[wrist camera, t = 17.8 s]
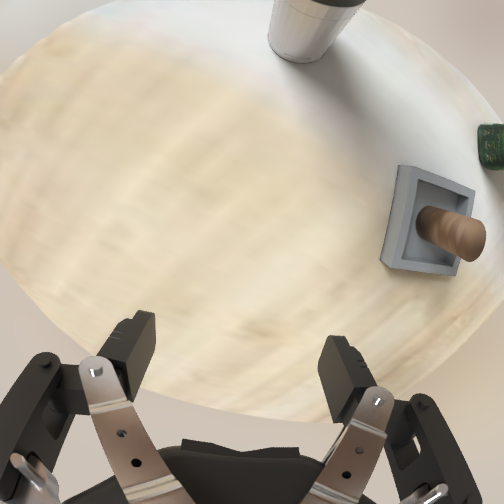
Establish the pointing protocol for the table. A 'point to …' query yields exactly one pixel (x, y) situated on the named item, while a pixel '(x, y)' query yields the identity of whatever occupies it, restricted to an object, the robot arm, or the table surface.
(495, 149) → the coffee jar
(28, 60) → the table surface
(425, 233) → the brown cylinder
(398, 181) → the grey tub
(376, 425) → the robot arm
